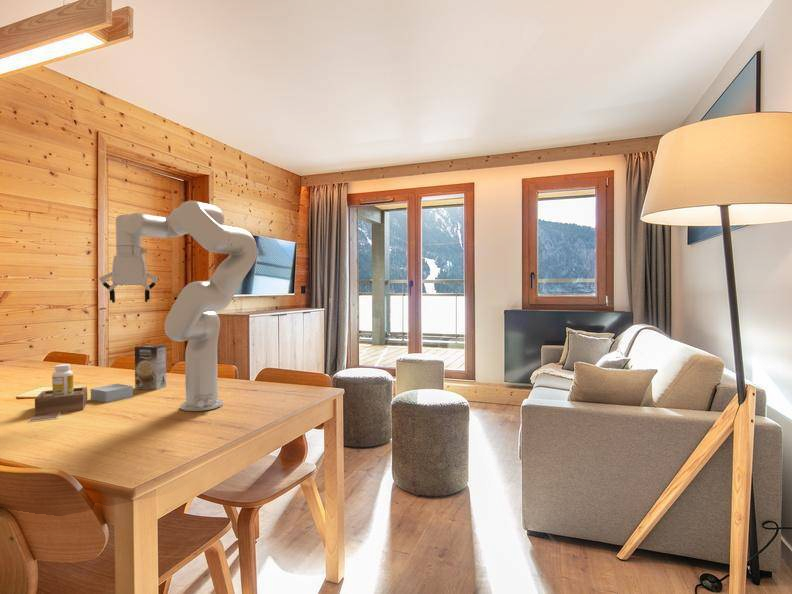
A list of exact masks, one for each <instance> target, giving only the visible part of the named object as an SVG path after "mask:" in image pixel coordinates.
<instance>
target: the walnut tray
mask: <svg viewBox="0 0 792 594" xmlns="http://www.w3.org/2000/svg"><path fill="white" fill-rule="evenodd" d="M73 389H74V393H73V394H72V395H68V396H58V397H54V396H53V389H52V390H51V389H50V390H42V391H41V392H40V393H39V394H38V395H37V396H36V398H35V399H34V414H43V413H52V412H61V413H67V412H77V411H84V409H85V407H86V405H87V403H88V387H87V386H84V387H83V386H81V387H73Z"/></svg>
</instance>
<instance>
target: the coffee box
mask: <svg viewBox="0 0 792 594" xmlns="http://www.w3.org/2000/svg"><path fill="white" fill-rule="evenodd" d="M166 386H167V345H165V344H163V345H162V344H142V345H138V346H137V345H136V346H134V389H135V390H153V391H154V390H155V391H156V390H159V389H162V388H164V387H166Z"/></svg>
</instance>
